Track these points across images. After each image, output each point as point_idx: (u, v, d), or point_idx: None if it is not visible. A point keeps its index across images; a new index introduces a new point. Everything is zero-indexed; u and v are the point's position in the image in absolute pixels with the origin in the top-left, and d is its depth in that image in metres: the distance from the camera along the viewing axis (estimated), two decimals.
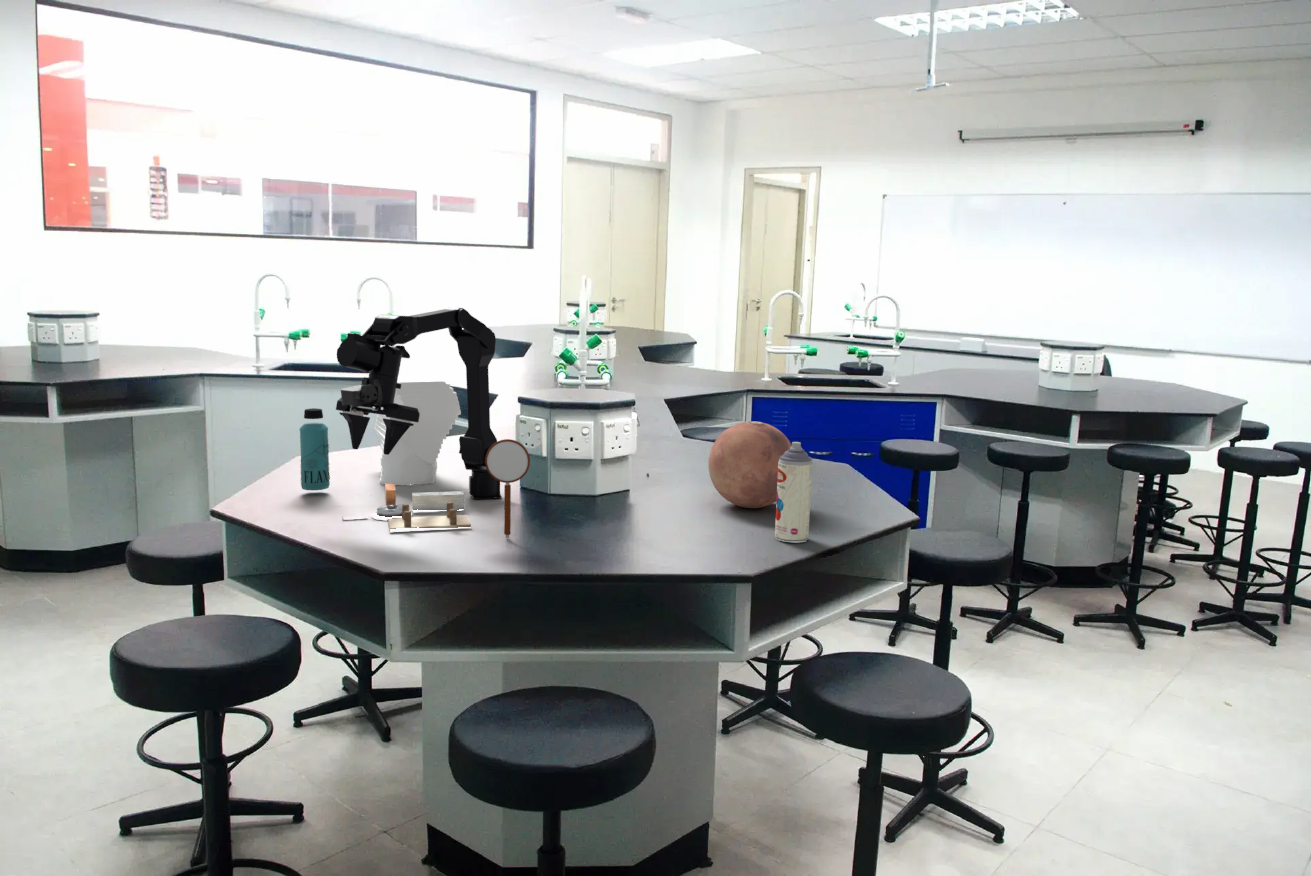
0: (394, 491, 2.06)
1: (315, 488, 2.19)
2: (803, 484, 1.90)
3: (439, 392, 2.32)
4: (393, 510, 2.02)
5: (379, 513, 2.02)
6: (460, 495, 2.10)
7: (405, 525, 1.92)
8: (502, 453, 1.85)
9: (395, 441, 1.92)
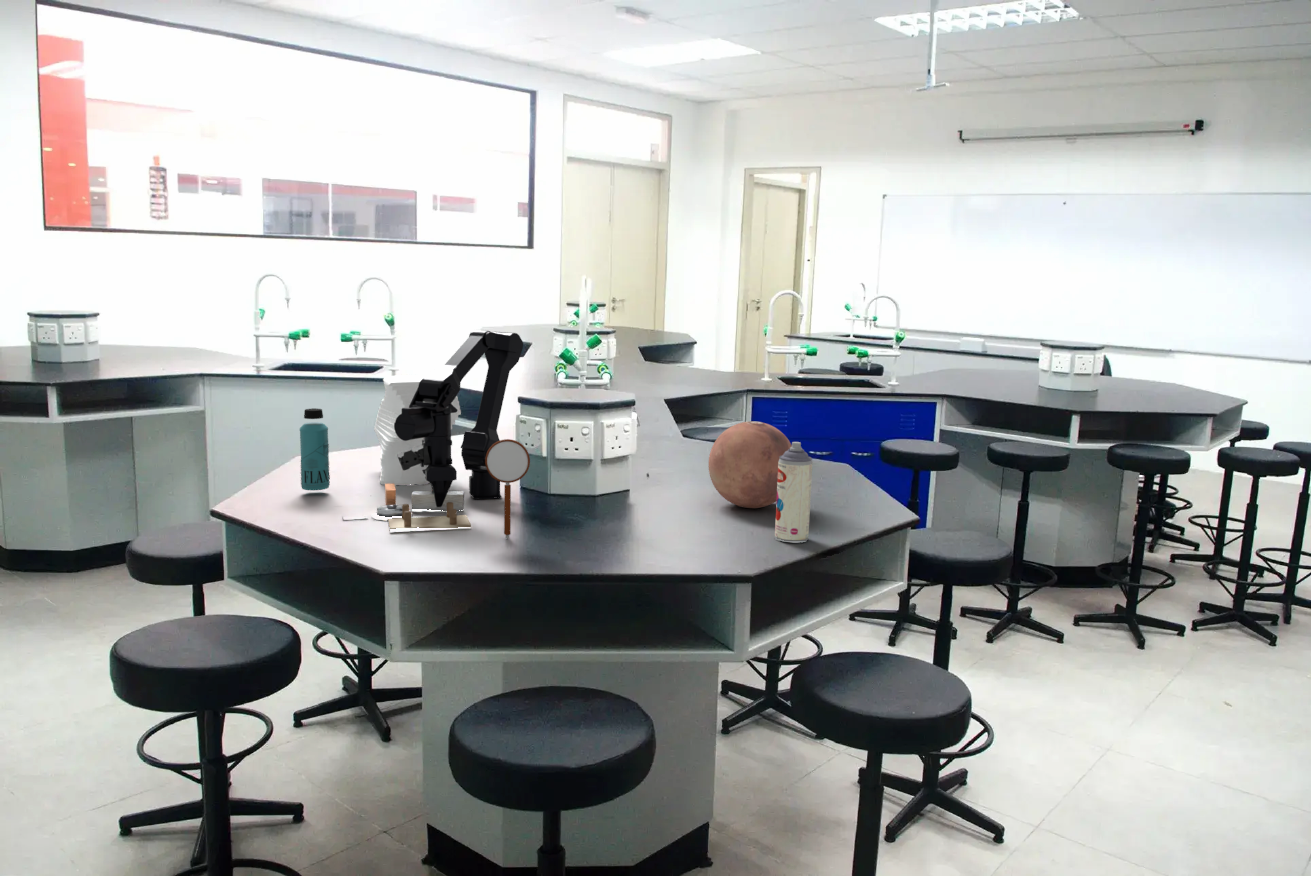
0: (394, 491, 2.06)
1: (315, 488, 2.19)
2: (803, 484, 1.90)
3: None
4: (393, 510, 2.02)
5: (379, 513, 2.02)
6: (459, 495, 2.09)
7: (405, 525, 1.92)
8: (502, 453, 1.85)
9: (444, 495, 2.07)
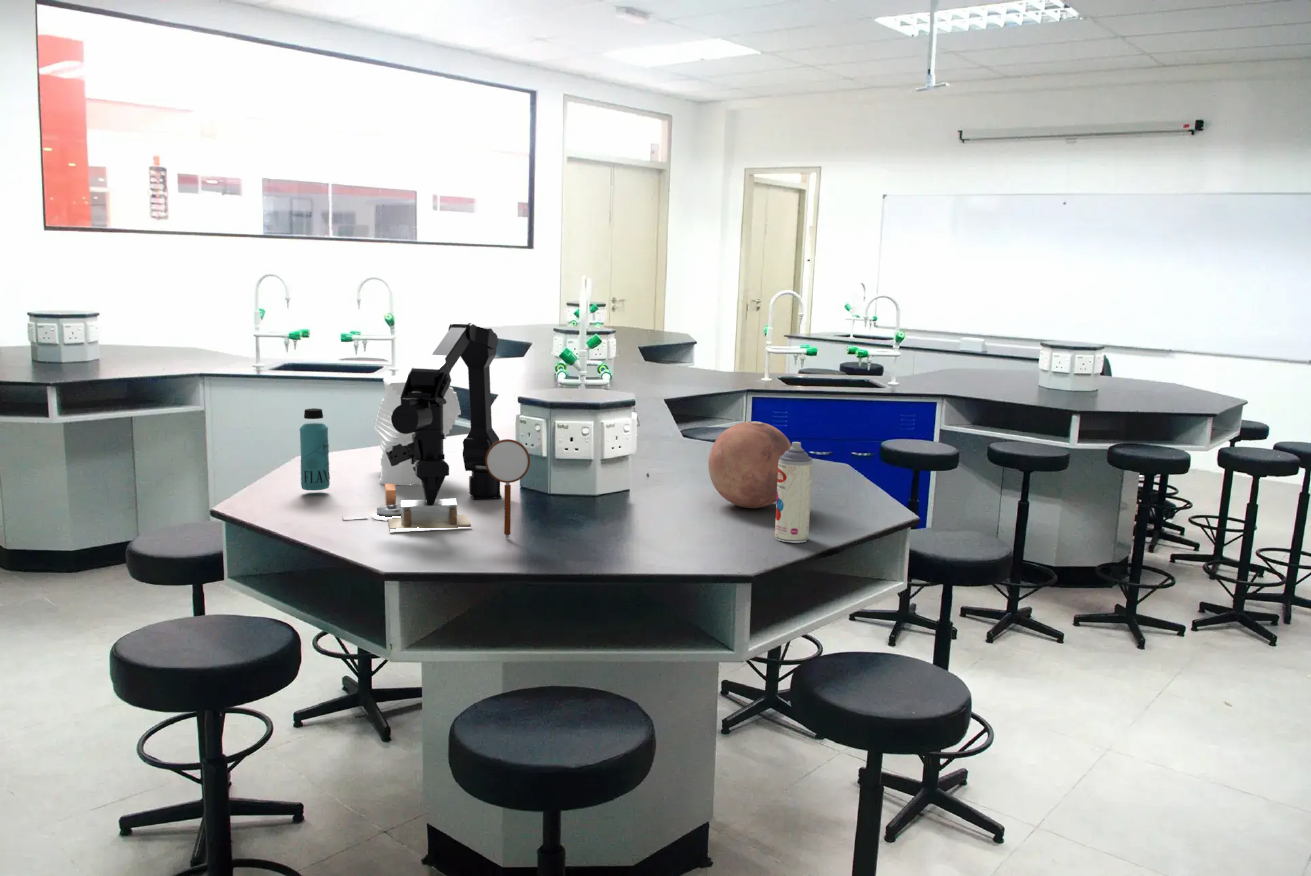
0: (394, 491, 2.06)
1: (315, 488, 2.19)
2: (803, 484, 1.90)
3: None
4: (393, 510, 2.02)
5: (379, 513, 2.02)
6: (453, 505, 1.95)
7: (405, 525, 1.92)
8: (502, 453, 1.85)
9: (435, 492, 1.93)
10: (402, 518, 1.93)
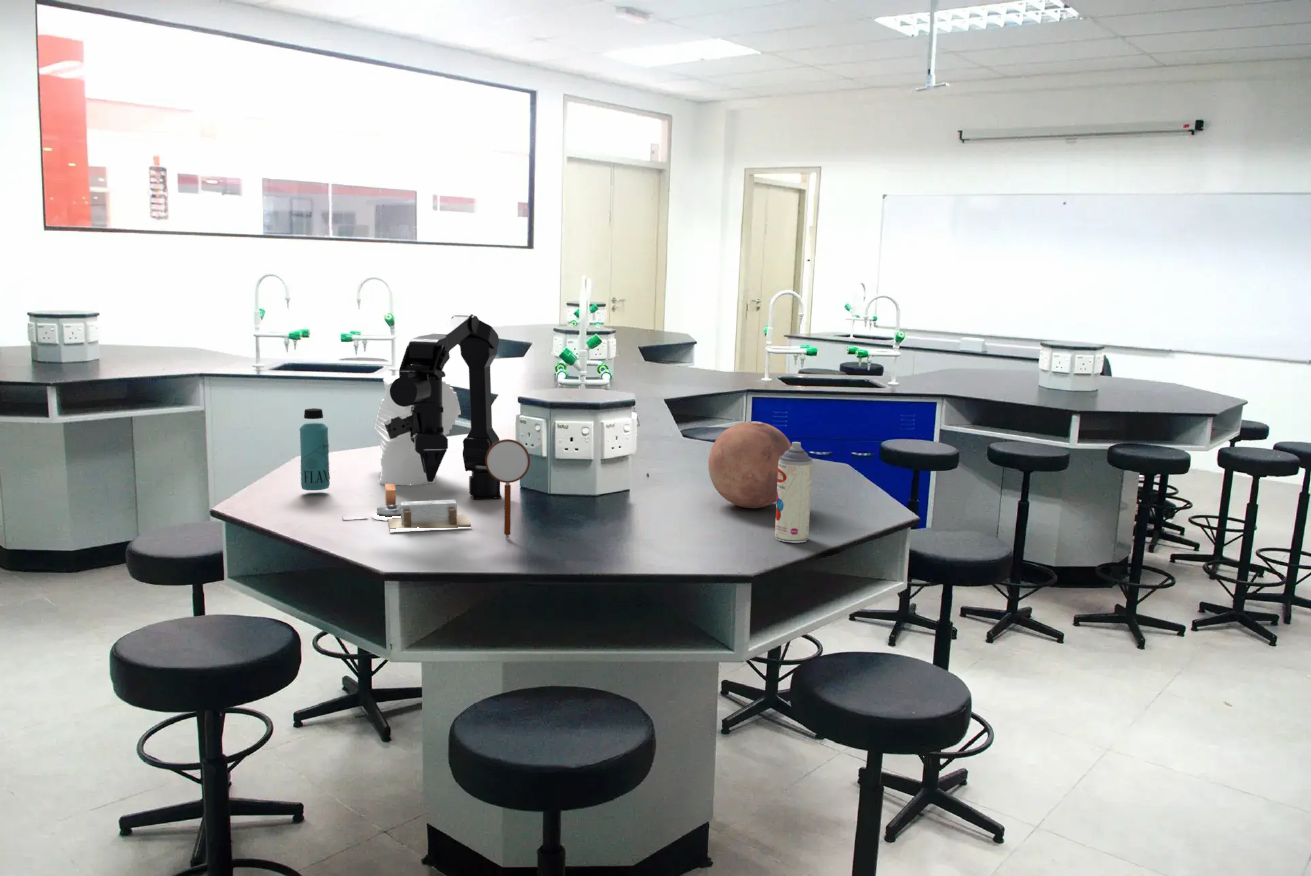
0: (394, 491, 2.06)
1: (315, 488, 2.19)
2: (803, 484, 1.90)
3: None
4: (393, 510, 2.02)
5: (379, 513, 2.02)
6: (452, 504, 1.96)
7: (405, 525, 1.92)
8: (502, 453, 1.85)
9: (435, 468, 1.90)
10: (402, 518, 1.93)
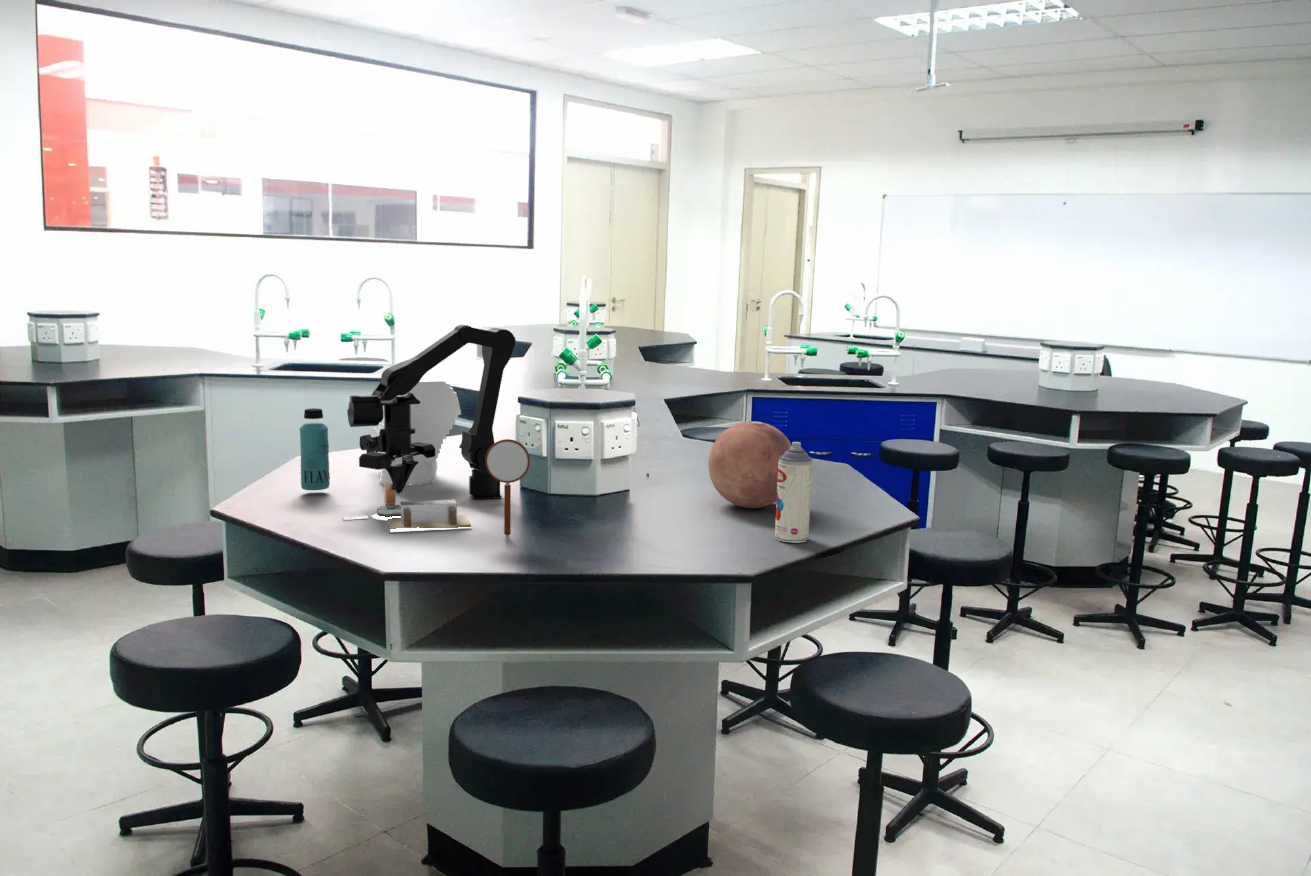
0: (394, 491, 2.06)
1: (315, 488, 2.19)
2: (803, 484, 1.90)
3: (439, 392, 2.32)
4: (393, 510, 2.02)
5: (379, 513, 2.02)
6: (452, 504, 1.96)
7: (405, 525, 1.92)
8: (502, 453, 1.85)
9: (398, 482, 2.13)
10: (402, 518, 1.93)
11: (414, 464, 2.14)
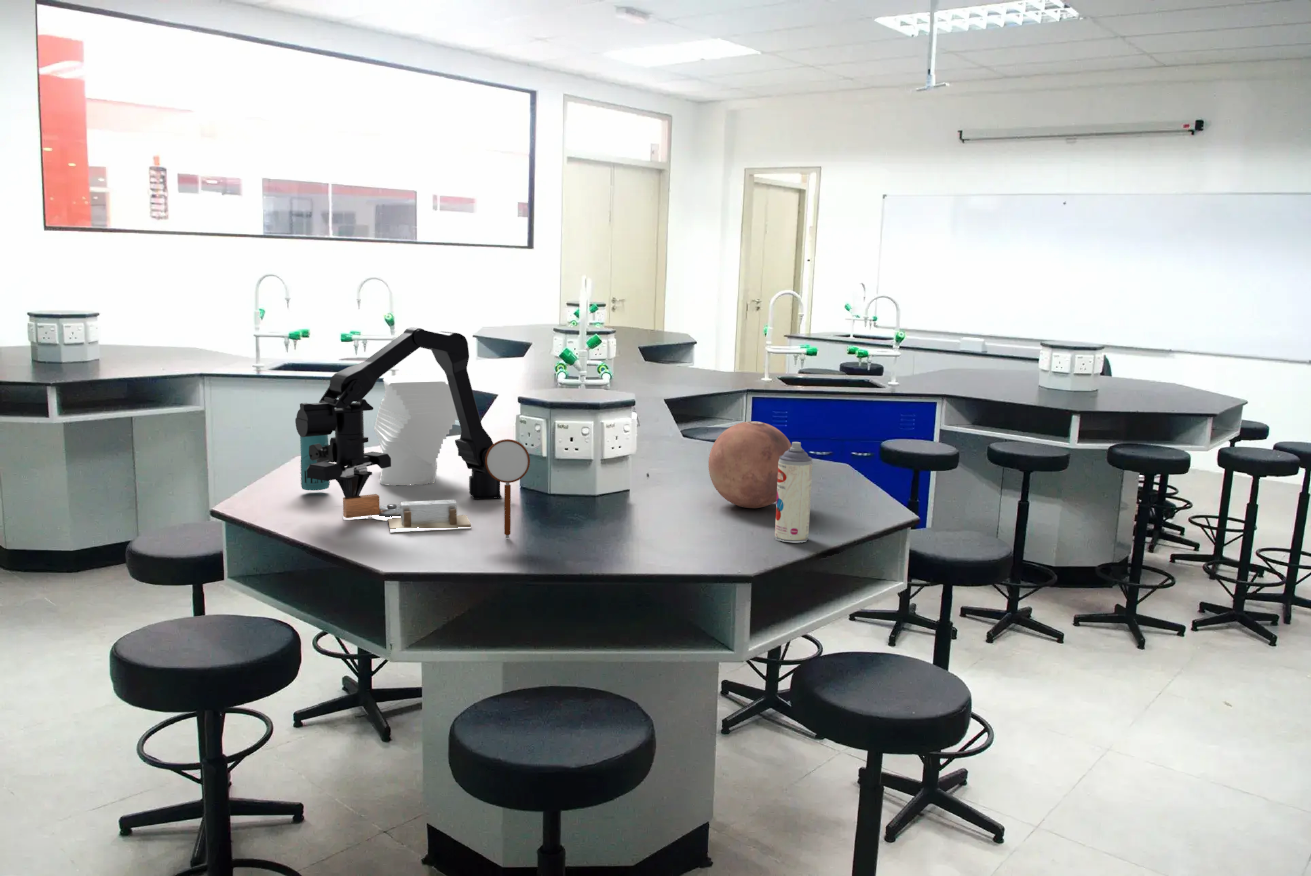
0: None
1: (315, 488, 2.19)
2: (803, 484, 1.90)
3: (439, 392, 2.32)
4: None
5: None
6: (452, 504, 1.96)
7: (405, 525, 1.92)
8: (502, 453, 1.85)
9: (350, 494, 2.00)
10: (402, 518, 1.93)
11: (367, 475, 2.01)
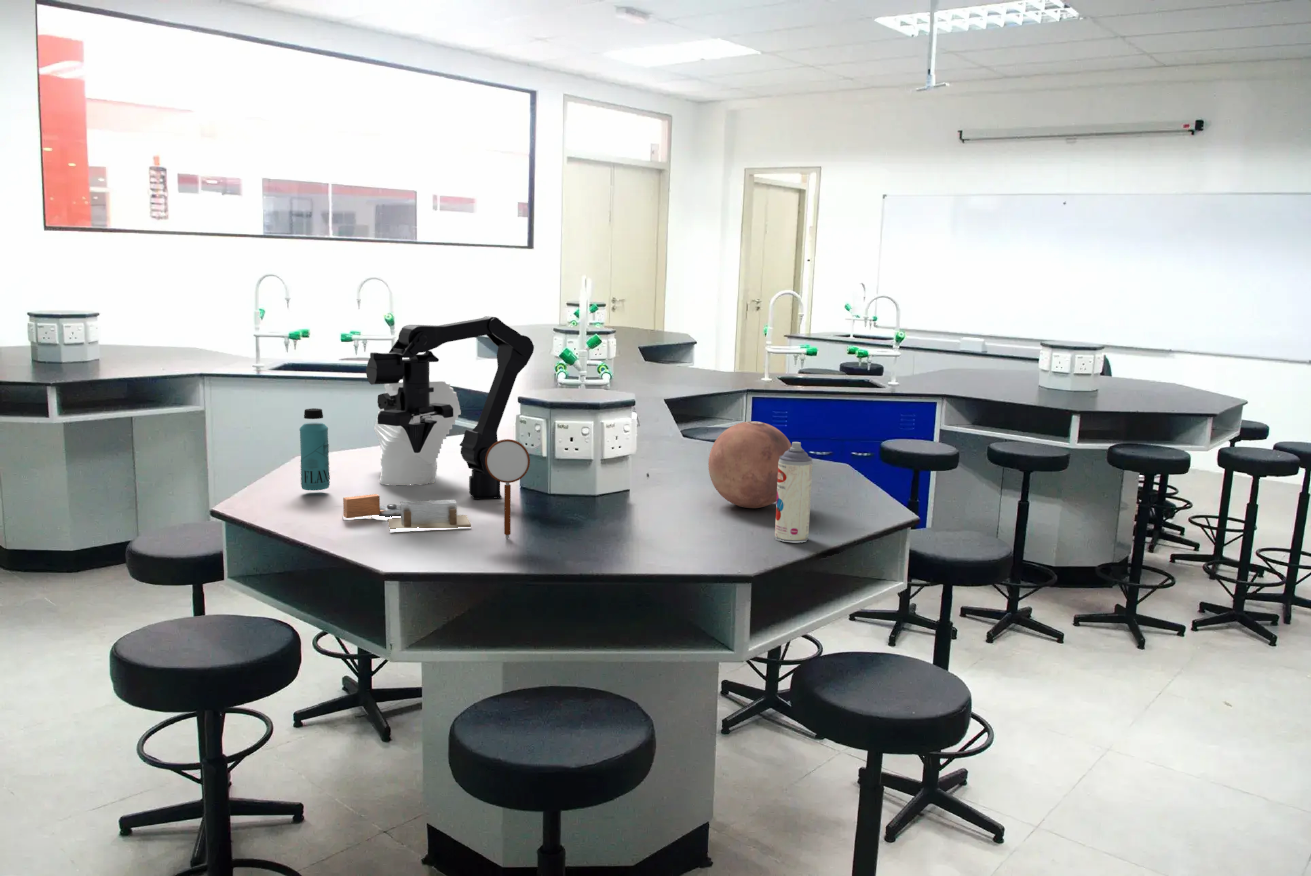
0: None
1: (315, 488, 2.19)
2: (803, 484, 1.90)
3: (439, 392, 2.32)
4: None
5: None
6: (452, 504, 1.96)
7: (405, 525, 1.92)
8: (502, 453, 1.85)
9: (416, 441, 2.10)
10: (402, 518, 1.93)
11: (433, 423, 2.12)
